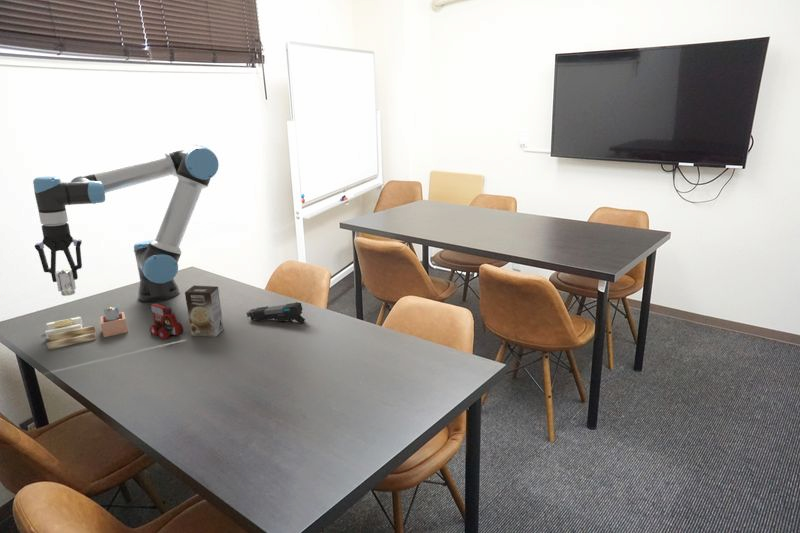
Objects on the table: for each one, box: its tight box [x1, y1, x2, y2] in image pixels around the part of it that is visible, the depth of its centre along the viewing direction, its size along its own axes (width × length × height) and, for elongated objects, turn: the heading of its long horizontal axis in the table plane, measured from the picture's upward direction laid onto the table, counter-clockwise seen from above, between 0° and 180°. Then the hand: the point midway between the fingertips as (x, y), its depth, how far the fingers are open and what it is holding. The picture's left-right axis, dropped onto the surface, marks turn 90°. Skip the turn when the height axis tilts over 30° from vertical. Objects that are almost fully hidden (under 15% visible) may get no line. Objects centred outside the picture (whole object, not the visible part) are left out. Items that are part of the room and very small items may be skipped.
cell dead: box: [103, 306, 120, 322], centre depth 167 cm, size 4×4×9 cm
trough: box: [46, 325, 97, 350], centre depth 162 cm, size 13×8×3 cm, turn 121°
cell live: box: [58, 269, 76, 297], centre depth 169 cm, size 4×4×9 cm
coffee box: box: [184, 285, 224, 338], centre depth 164 cm, size 9×6×16 cm
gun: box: [246, 301, 306, 325], centre depth 174 cm, size 4×20×10 cm, turn 79°
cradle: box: [44, 316, 83, 340], centre depth 168 cm, size 10×9×3 cm
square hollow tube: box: [99, 311, 129, 338], centre depth 167 cm, size 7×7×6 cm
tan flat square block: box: [54, 318, 72, 329], centre depth 168 cm, size 5×5×1 cm
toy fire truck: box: [149, 303, 184, 340], centre depth 164 cm, size 7×12×10 cm, turn 57°
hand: (67, 289), depth 170 cm, fingers closed on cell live, 3 cm apart
